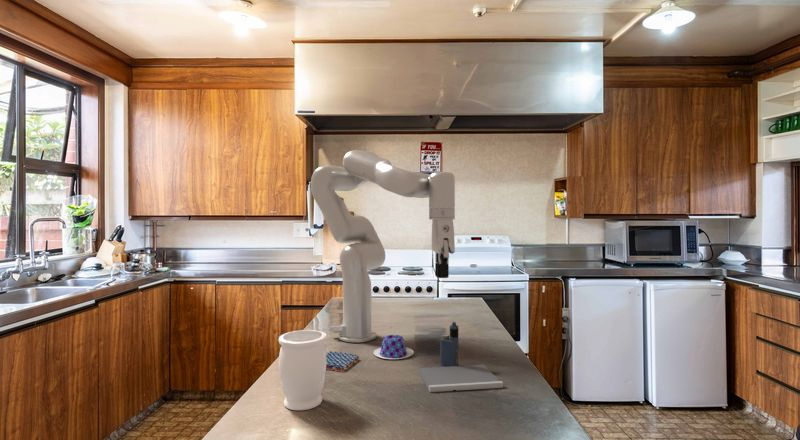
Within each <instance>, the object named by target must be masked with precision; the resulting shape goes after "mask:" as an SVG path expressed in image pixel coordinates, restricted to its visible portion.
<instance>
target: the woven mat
mask: <svg viewBox="0 0 800 440" xmlns="http://www.w3.org/2000/svg"><path fill="white" fill-rule="evenodd" d="M359 361H360V356H359V355H357V354H355V353H354V354H352V353H349V354H347V352H344V353H342V352H337V351H334V352H333V351H332V350H329V352H326V371H335V372H342V373H344V372H346V370H349V369H350V368H351V367H352V366H353V365H354V364H357V363H358V362H359Z"/></svg>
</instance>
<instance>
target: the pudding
mask: <svg viewBox="0 0 800 440" xmlns="http://www.w3.org/2000/svg"><path fill="white" fill-rule="evenodd" d="M403 337H404V336H401V335H398V334H389V335H385V336H384V337H383V339H382V343H381V346H380V347H378V348H375V350H373V355H375V357H378V358H381V359H385V360H400V359H406V358H410V357H411V356H413V355H414V353H415V352H414V350H413V349H412V348H410V347H406V344H405V339H404V338H403Z"/></svg>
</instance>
